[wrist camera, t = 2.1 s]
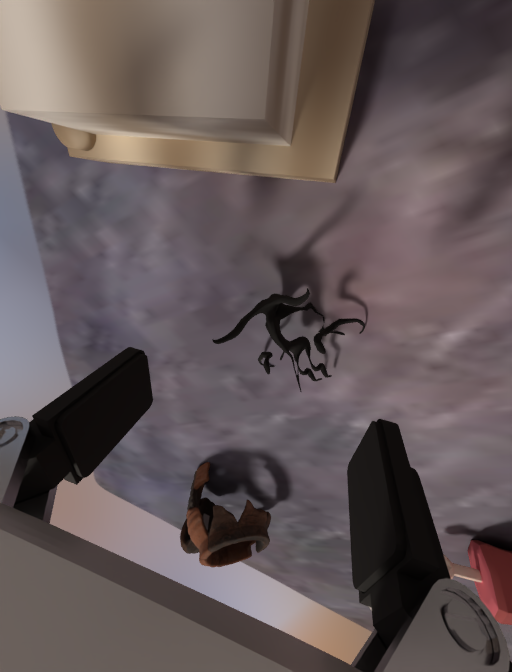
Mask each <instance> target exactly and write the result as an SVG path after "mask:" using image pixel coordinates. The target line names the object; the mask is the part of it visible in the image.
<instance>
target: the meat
mask: <svg viewBox="0 0 512 672" xmlns="http://www.w3.org/2000/svg"><path fill="white" fill-rule="evenodd" d="M443 555H444V554H443ZM468 555H469V560H470V565H471V568H470V567H466V566H462V565H458V564H454V563H451V561H450V560H449V559H448V558H447V557H446V556H445V555H444V558H445V561H446V565H447V568H448V571H449V574H450V578H451V579H452V578H453V577H454V576H458V577H461V578H465V579H469V580H473V581H474V582H475V585H476V588H477V591H478V594H479V597H480V600H481V601H482V602H483V603H484V604H485V606H486V607H487V608H488V609H489V610H490V612H491V613H492V615H493V617H494V618H495V620H496V621H498V622H499V623H501V624H509V625H512V551H508V550H504V549H501V548H498V547H495V546H492V545H489V544H487V543H484V542H481V541H479V540H471V542H470V545H469V548H468Z"/></svg>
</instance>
